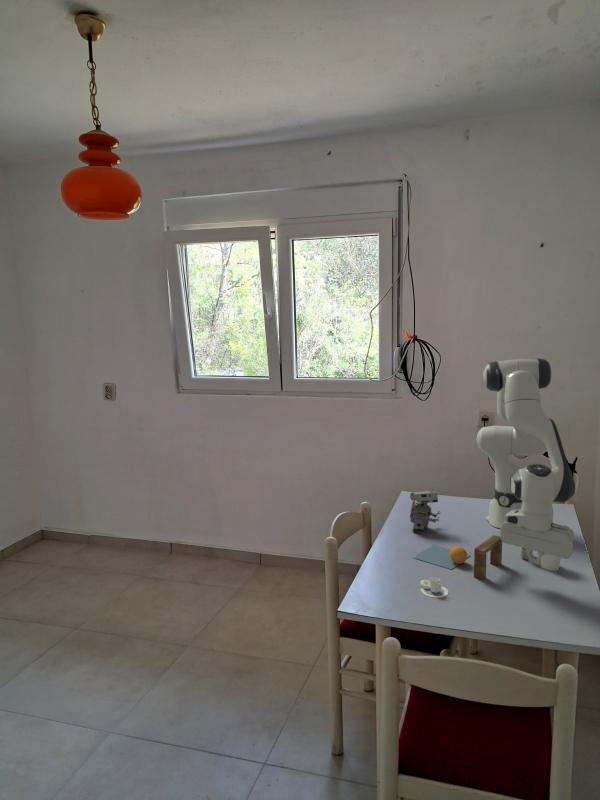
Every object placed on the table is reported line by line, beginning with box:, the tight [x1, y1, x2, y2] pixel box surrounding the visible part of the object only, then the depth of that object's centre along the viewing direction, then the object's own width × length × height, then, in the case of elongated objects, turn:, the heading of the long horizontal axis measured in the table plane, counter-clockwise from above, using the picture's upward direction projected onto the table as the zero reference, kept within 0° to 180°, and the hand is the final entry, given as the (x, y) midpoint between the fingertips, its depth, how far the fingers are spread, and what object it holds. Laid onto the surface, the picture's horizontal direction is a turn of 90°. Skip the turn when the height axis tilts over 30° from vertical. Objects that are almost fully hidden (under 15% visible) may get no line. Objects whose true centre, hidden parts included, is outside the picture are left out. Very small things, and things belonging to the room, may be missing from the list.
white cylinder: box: [538, 553, 561, 572], centre depth 173 cm, size 7×7×7 cm
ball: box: [450, 545, 468, 565], centre depth 177 cm, size 6×6×6 cm
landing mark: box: [413, 544, 471, 571], centre depth 182 cm, size 14×14×1 cm
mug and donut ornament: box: [419, 576, 449, 599], centre depth 159 cm, size 9×8×4 cm
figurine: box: [409, 490, 441, 534], centre depth 207 cm, size 9×12×15 cm
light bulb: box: [519, 547, 534, 561], centre depth 180 cm, size 6×6×10 cm
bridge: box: [473, 534, 503, 581], centre depth 171 cm, size 3×14×9 cm, turn 138°
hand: (534, 563), depth 162 cm, fingers closed
